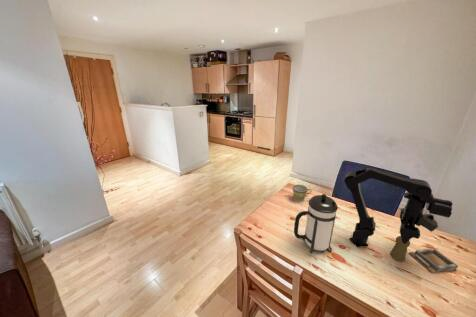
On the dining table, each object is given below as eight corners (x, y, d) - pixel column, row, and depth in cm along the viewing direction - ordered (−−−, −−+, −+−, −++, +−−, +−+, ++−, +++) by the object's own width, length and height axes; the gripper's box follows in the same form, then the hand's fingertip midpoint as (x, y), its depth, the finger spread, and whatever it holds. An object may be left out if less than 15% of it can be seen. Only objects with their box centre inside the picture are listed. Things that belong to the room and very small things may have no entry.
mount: (431, 273, 86) (433, 268, 85) (408, 253, 97) (410, 249, 96) (455, 270, 88) (458, 265, 87) (430, 251, 98) (432, 246, 97)
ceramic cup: (292, 203, 139) (293, 190, 136) (290, 195, 148) (292, 184, 145) (311, 204, 137) (313, 192, 133) (309, 197, 146) (310, 185, 143)
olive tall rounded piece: (408, 263, 92) (415, 244, 88) (393, 261, 93) (399, 242, 89) (401, 252, 97) (407, 234, 93) (387, 251, 98) (392, 233, 94)
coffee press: (307, 229, 113) (314, 183, 103) (336, 244, 103) (347, 194, 92) (291, 246, 102) (296, 195, 92) (322, 264, 91) (332, 209, 81)
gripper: (443, 227, 74) (429, 259, 79) (436, 205, 88) (425, 233, 93) (405, 216, 80) (395, 246, 86) (404, 197, 94) (396, 223, 100)
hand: (403, 237), depth 91 cm, fingers open, 9 cm apart
